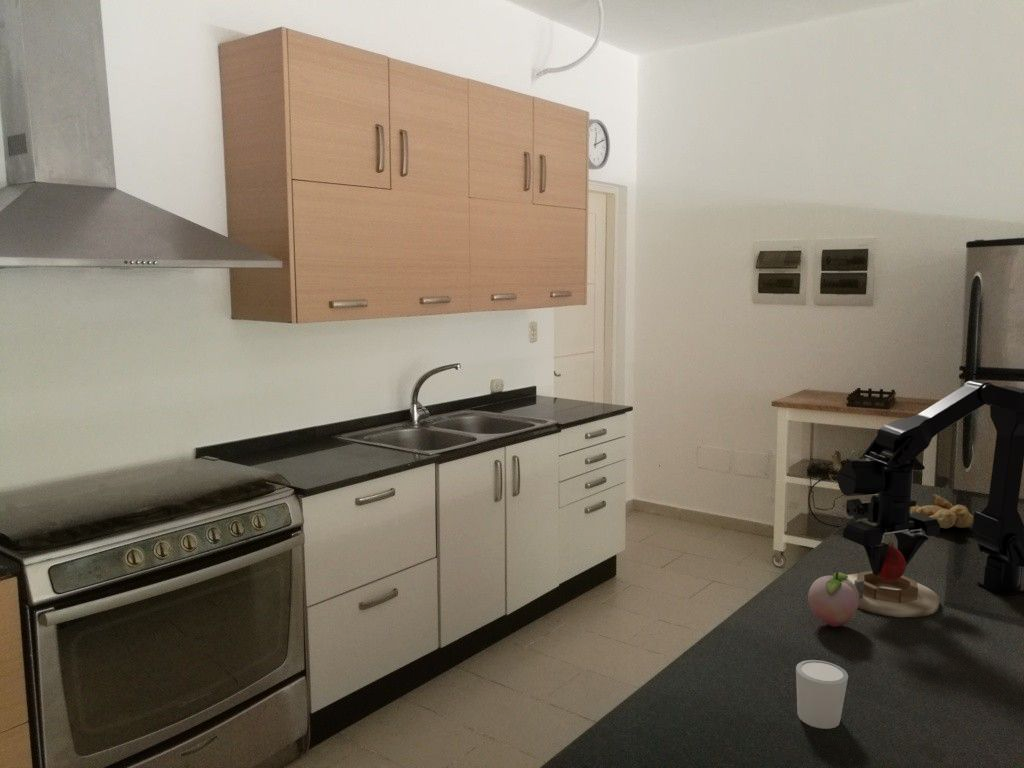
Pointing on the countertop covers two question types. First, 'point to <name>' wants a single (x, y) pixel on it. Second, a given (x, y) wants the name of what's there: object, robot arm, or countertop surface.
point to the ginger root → (946, 513)
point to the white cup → (820, 693)
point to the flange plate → (900, 609)
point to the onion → (892, 565)
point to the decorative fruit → (834, 599)
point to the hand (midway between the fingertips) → (888, 572)
